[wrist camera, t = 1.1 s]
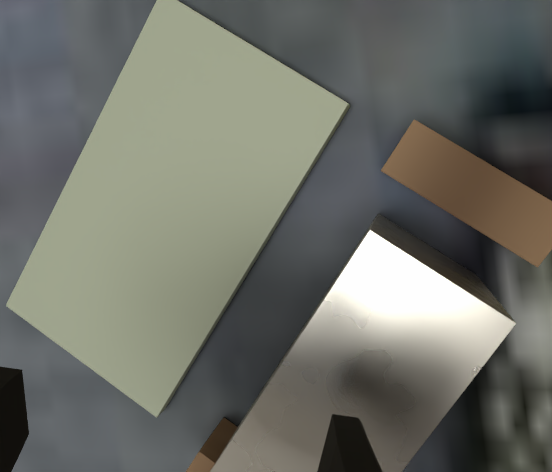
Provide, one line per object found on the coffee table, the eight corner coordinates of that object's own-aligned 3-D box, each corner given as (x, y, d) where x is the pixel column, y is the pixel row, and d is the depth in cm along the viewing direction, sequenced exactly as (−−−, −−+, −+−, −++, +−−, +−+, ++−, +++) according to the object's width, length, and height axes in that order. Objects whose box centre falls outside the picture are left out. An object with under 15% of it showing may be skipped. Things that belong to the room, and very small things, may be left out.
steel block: (475, 274, 20) (516, 323, 13) (339, 460, 22) (314, 584, 16) (378, 213, 21) (370, 230, 14) (254, 400, 23) (195, 493, 16)
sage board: (350, 106, 20) (348, 103, 20) (164, 409, 24) (156, 417, 23) (170, -3, 22) (161, -9, 21) (17, 301, 25) (5, 305, 24)
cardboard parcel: (549, 210, 19) (576, 216, 16) (311, 529, 23) (298, 581, 20) (411, 127, 20) (414, 119, 17) (202, 449, 24) (175, 487, 21)
